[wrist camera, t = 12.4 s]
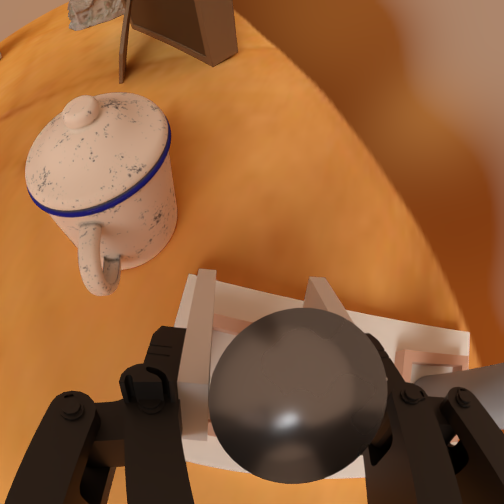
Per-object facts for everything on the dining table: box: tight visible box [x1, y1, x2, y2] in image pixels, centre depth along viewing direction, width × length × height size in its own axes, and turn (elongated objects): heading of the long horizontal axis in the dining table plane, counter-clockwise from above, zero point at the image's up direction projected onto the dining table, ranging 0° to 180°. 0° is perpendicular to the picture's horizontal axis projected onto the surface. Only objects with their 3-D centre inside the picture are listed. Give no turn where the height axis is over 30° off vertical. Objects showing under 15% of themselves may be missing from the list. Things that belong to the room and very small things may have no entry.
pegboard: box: [174, 274, 504, 479], centre depth 13 cm, size 24×12×12 cm, turn 78°
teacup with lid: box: [25, 92, 177, 296], centre depth 16 cm, size 12×9×12 cm
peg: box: [209, 308, 387, 484], centre depth 10 cm, size 4×4×10 cm
